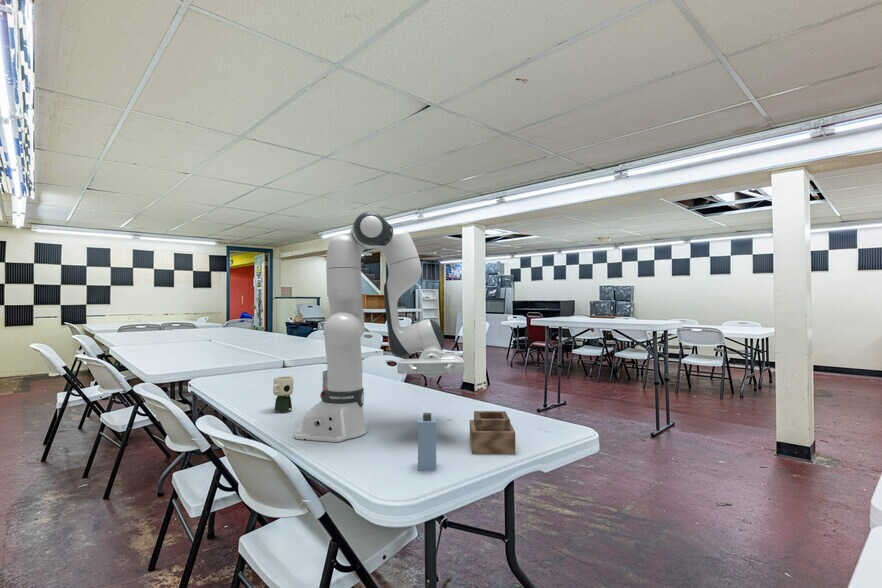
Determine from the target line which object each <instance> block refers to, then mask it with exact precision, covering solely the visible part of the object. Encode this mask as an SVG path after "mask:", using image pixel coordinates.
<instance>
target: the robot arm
mask: <svg viewBox="0 0 882 588" xmlns="http://www.w3.org/2000/svg"><path fill="white" fill-rule="evenodd" d="M374 249H379V250H380V251H381V253H382V254H383V256H384V258H385V262H386V266H387V269H388V276H387V281H386V282H385V283H384V285H383V298H384V299H383V300H384V308H385V317H386V325H387V335H388V336H387V342H388V344H387V345H388V348H389V352H390V353H391V354H392V355H393V356H395V357H398V358H400V359H401V360H398V361H397V364H396V365H397V366H396V367H397V369H396V371H397V374H400V375H413V374H416V375H417V374H418V375H420V374H421V375H422V376H424V377H426V378H429V379H432V378H433V379H434V378H437V377H441V376H444V375H445V376H446V375H455V374H456V375H457V374H464V373H465V360H464V359H463V357H462V356H460V355H459V352H458V353H457V352H451V351H444V348H445V346H446V341H445V337H444V334H443V333H444V332H443V331H442V328H441V326H440V324H439V323H438V322H437V321H435V320H433V319H432V318H428V319H425V320H421V321H418V322H416V323H411V324H408V325H404V326H401V325H400V318H399V311H398V310H399V309H398V302H399V301H398V300H399V299H400V298H401V296H402V295H404V294H405V293H406V292H408V290H410V289H411V288H413V286H415V285H416V284H417V283H418V282H419V280H420V278H421V277H422V272H423V269H422V268H423V267H422V264H421V260H420V256H419V253H418V250H417V248H416V245H415V242H414V241H413V238H412V237H411V234H410V233H409V232H408V231H407V230H406V229H404V228H393V226H392V225H391V224H390V223H389V222H388V221H387V220H386V219H385V218H384V217H383V216H382V215H381V214H380V213H377V212H374V211H365V212H362V213H361V214H359V215H358V216H357V217H356V218H355V220H354V222H353V224H352V226H351V229H350V232H348V233H347V234H339V235H335V236H333V237H332V238H330V240H329V242H328V245H327V250H326V251H327V253H326V263H325V264H326V265H325V266H326V267H325V268H326V269H325V271H326V272H325V273H326V274H325V275H326V295H327V300H328V301H327V302H328V307H329V313H330V316H329V317H328V318H327V320H326V321H325V323H324V327H323V334H324V335H323V336H324V337H323V338H324V347H325V356H326V363H327V365H326V366H327V368H326V369H327V370H326V371H327V387H326V388H325V389H322V390H323V391H320V393H319V395H320V396H319V398H320V399H321V400H320V401H319V402H318V403H317V404H315V405H314V406H313V407H312V408H310V409H309V410H308V411H307V412H306V413H305V415H304V416H303V418H302V423H301V426H299V427H298V428H297V429H295V431H294V435H293V438H294V437H295V438H296V439H295V438H294V439H295V440H304V439H306V440H305V441H316V442H318V441H319V442H331V443H333V442H334V443H340V442H343V441H347V440H348V439H349V440H350V439H353V438H354V439H355V438H357V437H361V436H363V435H366V433H367V432H368V427H367V425H366V421H365V420H366V419H365V414H364V404H365V391H364V389H365V388H364V386H363V361H362V360H363V358H362V345H361V338H362V336H363V335H364V332H365V315H364V302H363V289H362V255H363V253H365V252H367V251H372V250H374ZM419 352H421V353H420V356H419V357H418V358H406V357H409V356H410V355H412V354H416V353H419ZM403 358H405V359H403Z"/></svg>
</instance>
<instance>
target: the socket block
mask: <svg viewBox="0 0 882 588" xmlns="http://www.w3.org/2000/svg"><path fill="white" fill-rule="evenodd" d="M469 443H470V449H471V450H470V451H471V455H516V431H515V429H514V427H513V425H512V424H511V419H510V417H509V415H508V413H507V412H506V411H505V410H504V411H501V410H498V411H495V410H494V411H493V410H490V411H489V410H486V411H485V410H480V411H479V410H474V411H473V419H469Z"/></svg>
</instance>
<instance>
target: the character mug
mask: <svg viewBox="0 0 882 588" xmlns="http://www.w3.org/2000/svg"><path fill="white" fill-rule="evenodd" d="M272 393H273V395H274V396H276V398H275V404H274V411H275V412H279V413H280V412H281V413H286V412H285V411H287V412H290V410H291V409H292V410H293V405H292V404H293V403H292V398H291V395H292V394H293V393H294V376H290V375H283V376H281V375H280V376H275V377H274V378H273V389H272Z"/></svg>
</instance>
